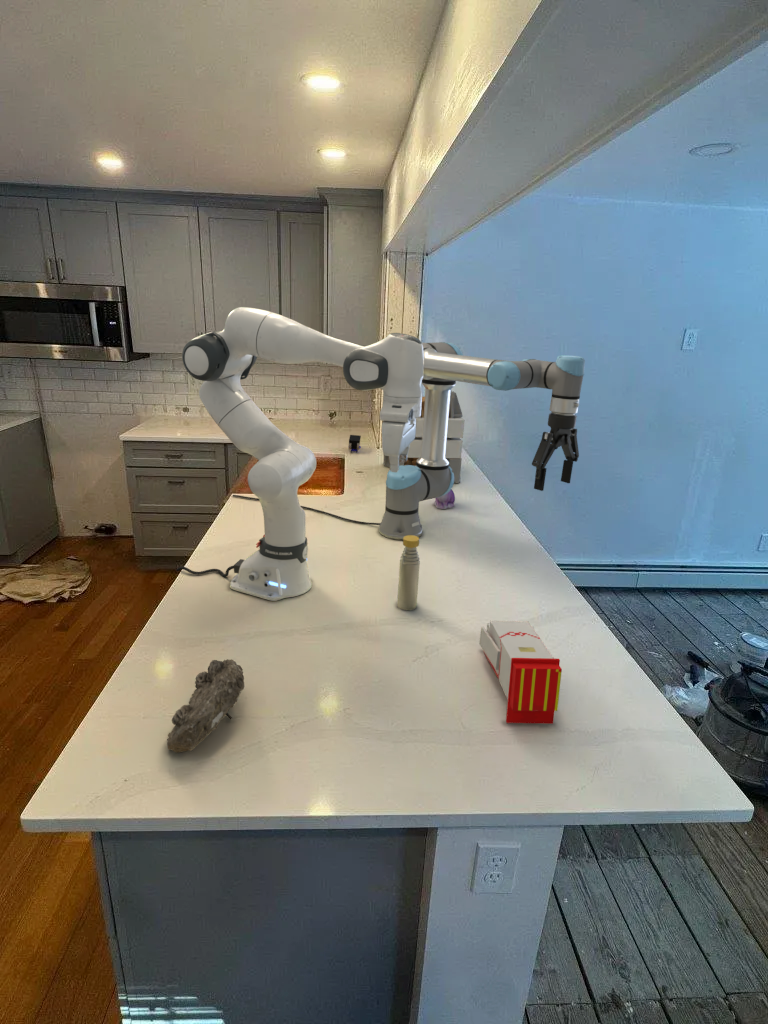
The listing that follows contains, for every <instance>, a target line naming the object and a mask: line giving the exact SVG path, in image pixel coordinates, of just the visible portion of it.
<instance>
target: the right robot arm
mask: <svg viewBox="0 0 768 1024" xmlns="http://www.w3.org/2000/svg"><path fill="white" fill-rule="evenodd" d="M421 343H422V345H423V352H424V373H423V379H422V382H421V385H422V386H423V387H424V389H425V392H424V397H425V404H424V419H423V434H422V449H421V457H420V458H418V459H417V461H416V466H413V465H401V466H399V470H398V472H391V471H390V469H389V470H388V472H387V474H386V479H385V504H384V505H385V507H384V508H385V509H384V513H383V515H382V519H381V522H367V521H359V520H356V519H350V518H347V517H342V516H339V515H337V514H334V513H331V512H328V511H327V512H326V511H324V510H319V509H317V508H313V507H308V506H303V505H300V506H301V507H302V508H303V509H304V510H310V511H312V512H317V513H321V514H324V515H328V516H331V517H334V518H336V519H340V520H343V521H347V522H352V523H355V524H361V525H367V526H368V525H371V526H378V533H379V534H380V535H381V536H382V537H385V538H387V539H389V540H395V541H403V538H404V536H407V535H413V536H417V537H418V538H420V537H421V536H422V535H423V525H422V524H421V518H420V515H419V507H420V506H419V505H420V502H423V501H427V500H431V499H435V498H438V497H441V496H443V495H445V494H447V493H448V492H449V491H450V490H451V489H452V490H453V488H454V487H453V486H454V484H455V483H454V473H452V469H451V467H450V466H449V462H448V461H447V459H446V458H445V453H446V441H447V428H448V416H449V404H450V392H451V391H452V389H453V388H454V387H455V386H456V384H457V382H461V383H465V384H473V385H479V386H487V387H491V388H492V389H494V390H496V391H503V392H504V391H511V390H520V389H532V388H533V389H534V388H539V389H546V390H551V398H550V404H549V413H548V418H547V419H548V420H547V426H548V427H549V428H550V431H549V432H548V431H543V432H542V435H541V440H540V442H539V445H538V447H537V449H536V452H535V454H534V457H533V460H532V461H531V466H533V467H535V475H534V477H535V478H534V485H533V489H534V490H537V491H539V492H543V491H544V489H545V484H546V483H545V482H546V476H547V468H546V466H547V465H548V463H549V461H550V459H551V457H552V456H553V454H554V453H555V451H556V450H557V449H558V448H560V447H561V449H562V452H563V455H564V458H565V459H563V463H562V468H561V469H562V470H561V475H560V482H562V483H566V484H571V478H572V472H573V466H574V463H576V462H578V461H579V457H580V453H579V444H578V428H576V423H577V419H578V416H577V414H578V412H579V411H578V410H579V406H580V397H581V391H582V385H583V380H584V376H585V365H586V360H585V358H584V357H582V356H578V355H566V354H565V355H564V354H563V355H558V356H557V357H556V360H555V361H549V360H541V359H536V358H524V359H521V360H506V359H505V360H504V359H503V360H502V359H496V358H487V357H479V356H471V355H464V354H463V352H462V350H461V349H460V347H459V346H457V345H456V344H455V343H451V342H445V341H443V342H442V341H441V342H440V341H439V342H438V341H437V342H421ZM232 497H233V498H234V497H235V498H241V499H245V500H254V501H258V502H260V500H259V498H258V497H251V496H244V495H238V494H232Z"/></svg>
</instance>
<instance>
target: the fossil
mask: <svg viewBox="0 0 768 1024" xmlns="http://www.w3.org/2000/svg"><path fill="white" fill-rule="evenodd" d="M243 670H244V669H243V667H242V665H240V664H237V662H236V661H235V660H234V659H232V658H231V659H227V658H226V659H224V660H223V661H222V660H217V659H212V660H211V661H210V663H209V665H208V666H207V671H201V672H199V673H198V674H197V675H196V676H195V680H194V684H195V685H194V687H195V689H194V690H193V693H192V694H191V697H190V698H189V700H188V704H184V705H182V706H181V707H180V709H177V710H176V711H175V713H174V715H173V716H172V718H171V723H172V724H173V727H172V730H171V731H170V732H168V734H167V738H166V741H167V742H166V745H167V749H168V750H169V751H173V752H174V753H176V754H178V753H182V752H188V751H189V752H192V751H193V750H195V748H196V747H197V746H199V744H200V743H201V742H203V741H204V740H205V739H206V738H207V737H208V736H209V735H210V734H211V733H212V732H214V730H215V729H217V727H218V726H219V724H220V722H221V721H222V720H223V719H224V718H225V716H226V717H227V719H229V720H233V717H232V715H230V714H229V710H230V709H231V708H234V706H235V704H236V703H237V702H238V699H239V697H240V695H241V693H242V691H243V690H245V689H244V688H245V675H244V671H243Z"/></svg>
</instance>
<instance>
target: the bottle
mask: <svg viewBox="0 0 768 1024" xmlns="http://www.w3.org/2000/svg"><path fill="white" fill-rule="evenodd" d="M399 558H400V559H399V569H398V585H397V586H398V587H397V601H396V603H397V604H396V605H397V607H398V608H399V609H401V610H404V611H413V610H415V609H416V608H417V607H418V593H419V592H418V591H419V578H420V564H421V561H420V554H419V552H418V547H415V548H409V547H405V546H404V548H403V550H402V553H401V556H400V557H399Z"/></svg>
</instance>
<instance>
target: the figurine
mask: <svg viewBox="0 0 768 1024" xmlns="http://www.w3.org/2000/svg"><path fill="white" fill-rule="evenodd" d="M455 501H456V496H455V493H454V490H453V488H452V489H451V490H450V491H449V492H448V493H447V494H445V495H443V496H441V497H438V498H434V506H435V508H436V509H441V510H447V509H451V508H453V507H454V506H455Z"/></svg>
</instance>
